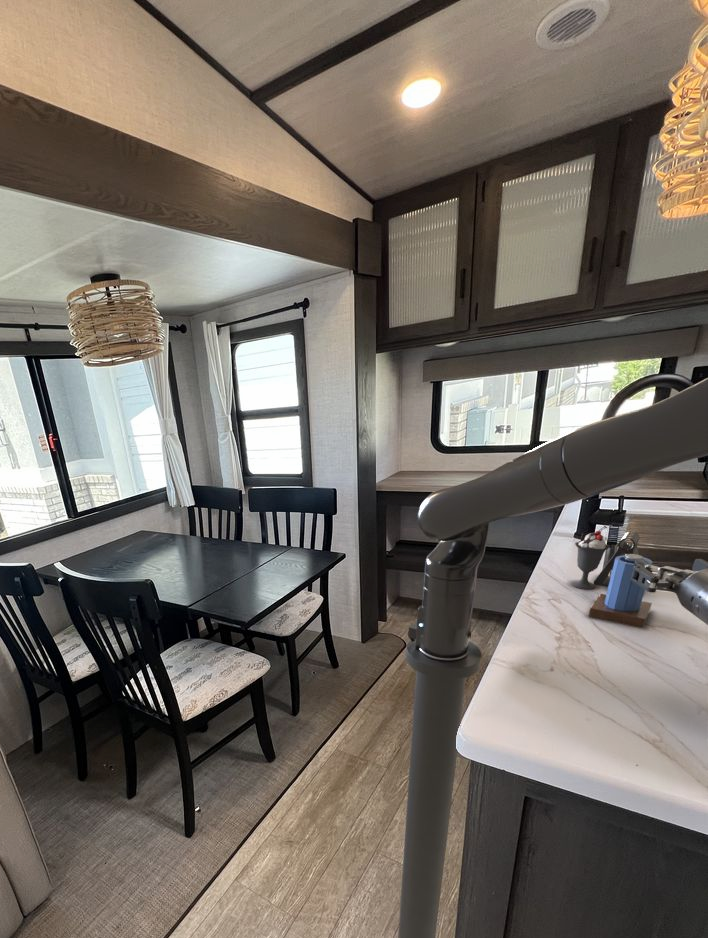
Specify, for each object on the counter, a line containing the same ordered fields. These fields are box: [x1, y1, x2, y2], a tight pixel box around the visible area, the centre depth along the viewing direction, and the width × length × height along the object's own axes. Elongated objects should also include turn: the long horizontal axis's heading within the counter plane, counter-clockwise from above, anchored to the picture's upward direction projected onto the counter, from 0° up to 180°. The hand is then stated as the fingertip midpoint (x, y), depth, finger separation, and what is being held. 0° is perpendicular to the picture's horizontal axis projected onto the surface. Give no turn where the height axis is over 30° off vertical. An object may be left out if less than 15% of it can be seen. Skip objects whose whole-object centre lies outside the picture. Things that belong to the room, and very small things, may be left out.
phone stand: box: [592, 531, 640, 588], centre depth 108 cm, size 9×6×12 cm, turn 46°
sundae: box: [570, 525, 611, 590], centre depth 109 cm, size 7×7×15 cm
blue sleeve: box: [605, 554, 654, 612], centre depth 94 cm, size 6×6×10 cm
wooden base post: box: [588, 553, 653, 629], centre depth 95 cm, size 9×9×13 cm
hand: (666, 563), depth 82 cm, fingers open, 8 cm apart
